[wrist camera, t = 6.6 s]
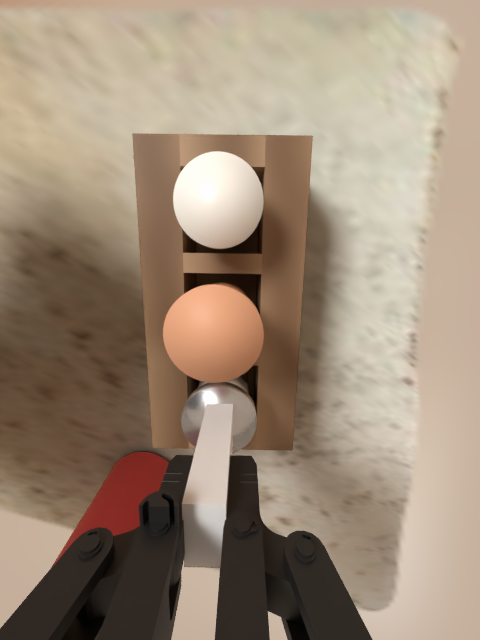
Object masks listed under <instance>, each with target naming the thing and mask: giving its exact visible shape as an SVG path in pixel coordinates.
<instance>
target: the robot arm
mask: <svg viewBox="0 0 480 640" xmlns="http://www.w3.org/2000/svg"><path fill="white" fill-rule="evenodd" d="M232 448H233V404H207V405H206V409H205V413H204V417H203V421H202V425H201V429H200V433H199V437H198V441H197V445H196V449H195V453H194V456H189V455H176V456H175V457H174V458H173V459H172V460H171V461H170V462H169V464H168V467H167V469H166V472H165V475H164V478H163V481H162V483H161V486H160V489H159V491H156V492H154V493H151V494H149V495H148V496H147V497H145V498H144V499H143V500H142V502H141V503H140V505H139V519H140V526H139V527H137V528H135V529H134V530H131V531H129V532H125V533H122V534H119V535H115V536H113V535H112V532H111V531H110V530H108V529H107V528H101V527H98V528H94V529H90V530H88V531H87V532H85V533H83V534H81V535H80V536H79V537H78V538H77V539H76V540H75V541H74V542H73V543H72V544H71V545H70V547H69V548H68V549H67V550H66V551H65V553H64V554H63V555H62V556H61V557H60V558H59V560H58V561H57V562H56V563H55V564H54V566H53V567H52V568H51V569H50V570H49V572H48V573H47V574H46V575H45V576H44V577H43V579H42V580H41V581H40V582H39V584H38V585H37V586H36V587H35V588H34V590H33V591H32V592H31V593H30V594H29V595H28V596H27V598H26V599H25V600H24V601H23V602H22V604H21V605H20V606H19V607H18V608H17V610H16V611H15V612H14V613H13V614H12V616H11V617H10V618H9V619H8V620H7V621H6V623H5V624H4V625H3V626H2V627H1V629H0V640H171V636H172V632H173V627H174V621H175V616H176V610H177V605H178V600H179V594H180V589H181V570H182V565H183V560H184V567H212V568H220V579H219V592H218V605H217V618H216V632H215V640H270V639H269V625H268V611H269V612H272V613H274V614H276V615H278V616H280V617H281V618H282V621H283V625H284V629H285V632H286V635H287V639H288V640H372V638H371V636H370V634H369V632H368V630H367V628H366V626H365V624H364V622H363V621H362V619H361V617H360V615H359V613H358V611H357V609H356V607H355V605H354V603H353V601H352V599H351V597H350V595H349V593H348V591H347V590H346V588H345V586H344V584H343V582H342V580H341V578H340V576H339V574H338V572H337V570H336V568H335V566H334V564H333V562H332V561H331V559H330V557H329V555H328V553H327V551H326V549H325V547H324V545H323V544H322V543H321V541H320V540H319V539H318V538H317V537H316V536H314V535H313V534H312V533H309V532H306V531H295V532H293V533H291V534H289V536H288V537H284V536H281V535H278V534H276V533H274V532H272V531H271V530H269V529H268V528H267V527H266V526H265V525H264V523H263V522H262V519H261V517H260V510H259V495H258V479H257V464H256V463H255V461H254V459H253V458H252V456H232Z"/></svg>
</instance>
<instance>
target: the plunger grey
mask: <svg viewBox="0 0 480 640" xmlns="http://www.w3.org/2000/svg"><path fill="white" fill-rule="evenodd" d="M207 404H233V448H232V453H234V452H237V451H239V450H240V449H242V448H243V447H245V446H246V445H247V444H248V443H249V442H250V441H251V439H252V437H253V436H254V433H255V431H256V426H257V417H256V409H255V405H254V402H253V400H252V398H251V397H250V396H249V392H248V371H247V372H245V373H244V374H243V375H241V376H239V377H237V378H235V379H233V380H230V381H226V382H220V383H209V382H203V381H200V384H199V387H198V388H197V389H196V390H194V391H193V392H192V393H191V395H190V396H189V398H188V399H187V401H186V404H185V406H184V409H183V412H182V417H181V424H182V429H183V432H184V434H185V436H186V438H187V439H188V441H189V442H190V443H191V444H192V445H193V446H195V447H196V445H197V441H198V437H199V433H200V429H201V425H202V421H203V417H204V413H205V409H206V405H207Z"/></svg>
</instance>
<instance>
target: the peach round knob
mask: <svg viewBox="0 0 480 640" xmlns="http://www.w3.org/2000/svg"><path fill="white" fill-rule="evenodd" d="M163 340H164V345H165V348H166V351H167V353H168V355H169V357H170V359H171V360H172V362H173V363H174V364H175V365H176V366H177V367H178V368H179V369H180V370H181V371H182V372H183V373H185V374H186V375H188V376H190V377H192V378H194V379H196V380H199V381H203V382H209V383H220V382H226V381H230V380H233V379H235V378H237V377H239V376H241V375H243V374H244V373H245V372H247V371H248V370H249V369H250V368H251V367H252V366H253V365H254V363H255V362H256V360H257V359H258V357H259V355H260V352H261V350H262V346H263V340H264V330H263V324H262V321H261V318H260V314H259V312H258V310H257V308H256V307H255V305H254V304H253V302H252V301H251V300H250V299H249V298H248V297H247V295H246V293H245V292H244V291H243V290H242V289H241V288H240V287H239V286H237V285H235V284H233V283H230V282H217V283H213V284H207V285H202V286H199V287H196V288H194V289H192V290H190V291H188V292H186V293H185V294H183V295H182V296H181V297H180V298H178V299H177V300H176V301H175V303H174V304H173V305H172V306H171V308H170V309H169V311H168V313H167V315H166V318H165V321H164V327H163Z"/></svg>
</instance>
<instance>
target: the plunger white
mask: <svg viewBox="0 0 480 640" xmlns="http://www.w3.org/2000/svg"><path fill="white" fill-rule="evenodd" d="M263 203H264V198H263V190H262V186H261V183H260V181H259V178H258V176H257V175H256V173H255V171H254V170H253V169H252V167H251V166H250V165H249V164H248V163H247V162H245V161H244V160H243V159H241V158H240V157H238V156H236V155H234V154H231V153H227V152H220V151H215V152H208V153H205V154H202V155H199V156H198V157H196V158H194V159H193V160H191V161H190V162H189V163H188V164H187V165H186V166H185V167H184V168H183V170H182V171H181V173H180V174H179V176H178V178H177V181H176V184H175V187H174V193H173V205H174V211H175V215H176V217H177V220H178V222H179V224H180V226H181V227H182V229H183V230H184V231H185V233H186V234H187V235H188V236H189V237H190V238H192V239H193V240H194V241H196V242H198V243H199V244H201V245H204V246H207V247H210V248H215V249H226V248H231V247H234V246H236V245H238V244H240V243H242V242H243V241H245V240H246V239H247V238H248V237H249V236H250V235H251V234H252V233H253V232H254V230H255V229H256V227H257V225H258V223H259V221H260V218H261V215H262V211H263Z"/></svg>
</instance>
